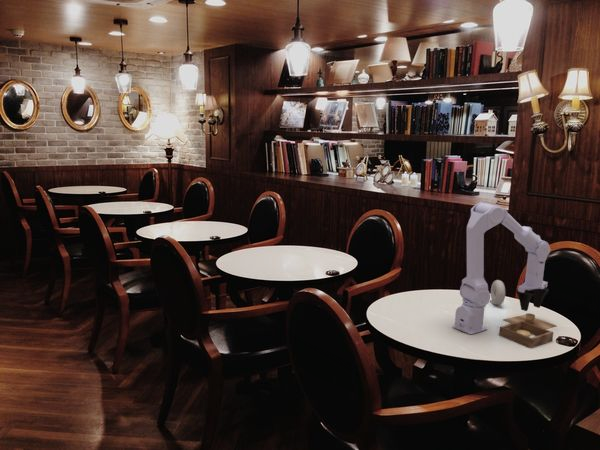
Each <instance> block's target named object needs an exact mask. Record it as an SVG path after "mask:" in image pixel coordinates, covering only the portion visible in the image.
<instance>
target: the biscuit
mask: <svg viewBox="0 0 600 450" xmlns="http://www.w3.org/2000/svg"><path fill="white" fill-rule="evenodd" d="M516 332H517V333H520V334H522V335H525V336H527V337H531V334H530V332H528V331H526V330H517V331H516Z"/></svg>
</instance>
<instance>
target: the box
mask: <svg viewBox="0 0 600 450" xmlns="http://www.w3.org/2000/svg"><path fill="white" fill-rule="evenodd" d="M517 330H526V331H528V332H530V335H533V337H531V336H529V337H527V336H525V335H522V334H520V333H517ZM498 336H500V337H502V338H505V339H507V340H510V341H512V342H514V343H517V344H520V345H522V346H525V347H527V348H530V349H532V348H534V347H538V346H541V345H544V344H547V343H550V342H552V341H553V340H554V339H553V337H554V332H553V331H551V330H548V329H543V328H540V327H538V326H535V325H532V324H529V323H526V322H524V321H519V322H515V323H512V324H511V323H508V324H505V325H502V326H500V327H499V331H498Z"/></svg>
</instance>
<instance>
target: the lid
mask: <svg viewBox="0 0 600 450" xmlns="http://www.w3.org/2000/svg"><path fill="white" fill-rule="evenodd" d="M502 321H504V322H506V323H508V324H512V323H515V322H519V321H524V322H526V323H529V324H532V325H535V326H538V327H540V328H543V329H546V330H548V329H551V328H556V327H557V325H556V324H553V323H550V322H547V321H545V320H543V319H539V318H537V317H536V314H534V313H529V312H528V313H525V314H521V315H517V316H516V315H515V316H513V317H508V318H503V319H502Z"/></svg>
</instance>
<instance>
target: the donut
mask: <svg viewBox="0 0 600 450" xmlns="http://www.w3.org/2000/svg"><path fill="white" fill-rule="evenodd" d="M490 287H491V288H490V300H491V301H492V303H493V304H494V305H496V306H501V305H502V304H503V303H504V301H505V298H506V286H505V283H504V282H503V281H502V280H500V279H496V280H494V281H493V282H492V284H491V286H490Z"/></svg>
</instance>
